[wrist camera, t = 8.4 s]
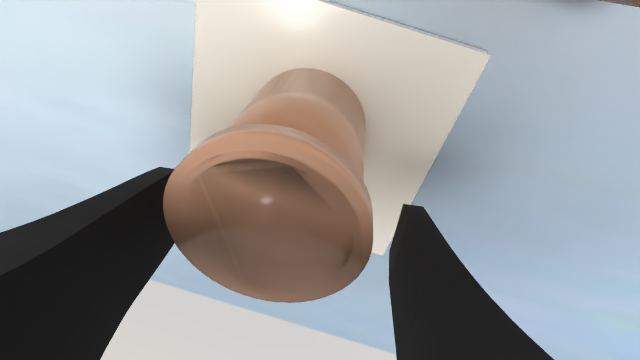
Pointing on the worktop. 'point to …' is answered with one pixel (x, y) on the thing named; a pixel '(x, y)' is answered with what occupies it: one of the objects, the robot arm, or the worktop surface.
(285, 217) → the terracotta pot
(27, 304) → the robot arm
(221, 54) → the ceramic tile
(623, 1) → the box
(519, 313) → the worktop surface
